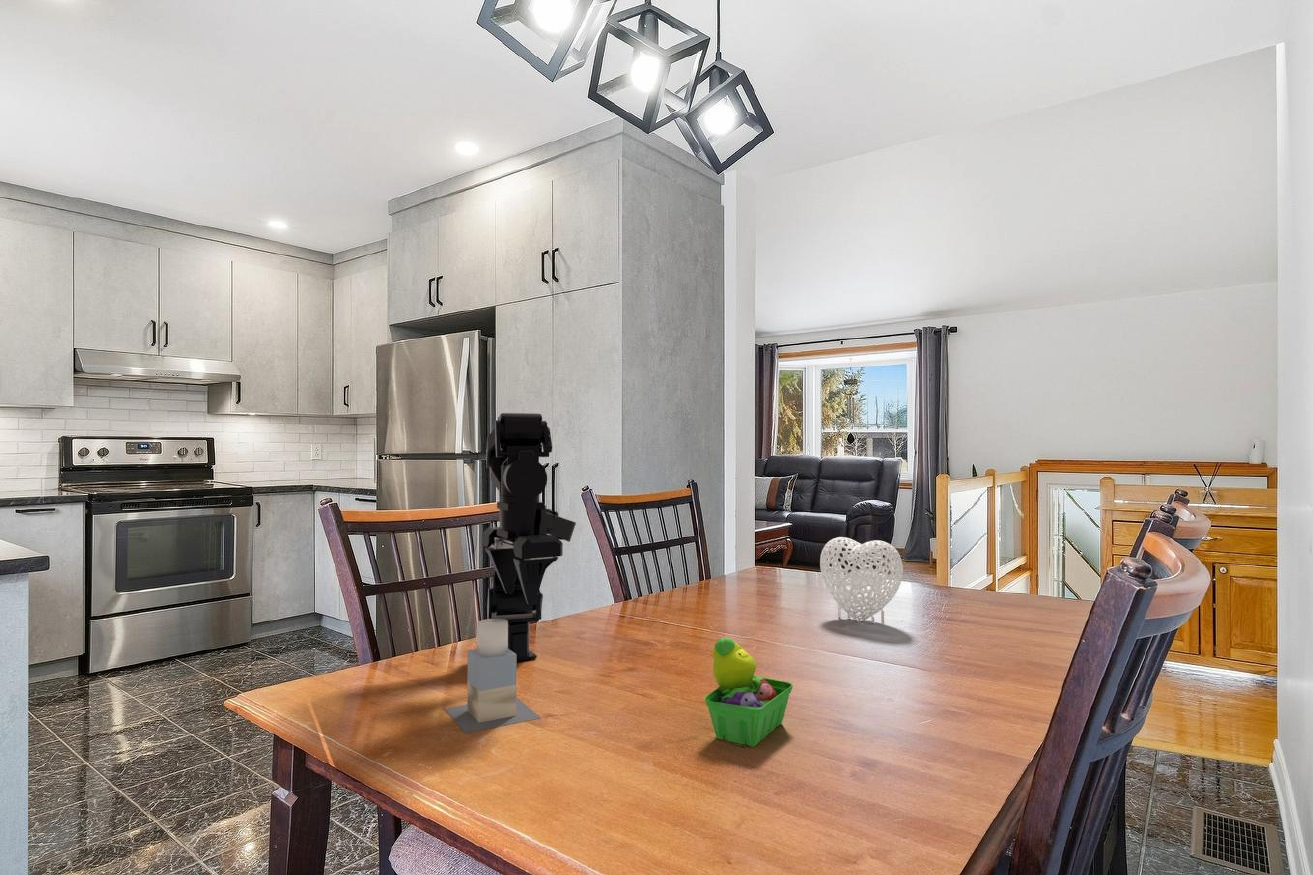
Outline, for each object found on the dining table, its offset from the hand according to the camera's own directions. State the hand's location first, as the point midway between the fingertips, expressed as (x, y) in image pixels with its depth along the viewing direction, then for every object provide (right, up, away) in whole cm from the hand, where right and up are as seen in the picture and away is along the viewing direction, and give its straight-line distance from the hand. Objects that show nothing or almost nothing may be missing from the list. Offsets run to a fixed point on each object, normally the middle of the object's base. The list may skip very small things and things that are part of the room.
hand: (519, 598), depth 110 cm
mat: (-1, -13, -14) cm, 19 cm away
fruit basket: (+32, -13, -18) cm, 39 cm away
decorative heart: (+63, -14, +40) cm, 76 cm away
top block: (-1, -8, -14) cm, 16 cm away
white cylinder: (-1, -4, -14) cm, 14 cm away
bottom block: (-1, -12, -14) cm, 18 cm away
